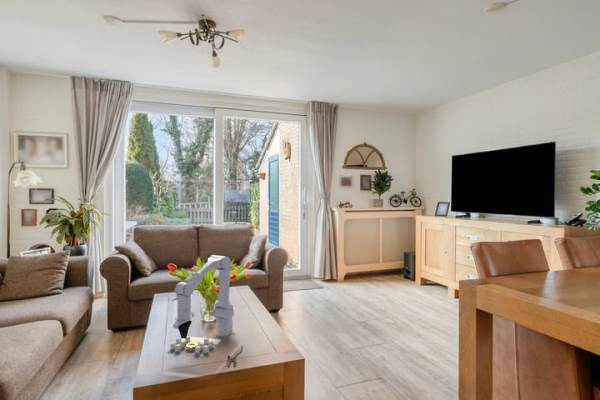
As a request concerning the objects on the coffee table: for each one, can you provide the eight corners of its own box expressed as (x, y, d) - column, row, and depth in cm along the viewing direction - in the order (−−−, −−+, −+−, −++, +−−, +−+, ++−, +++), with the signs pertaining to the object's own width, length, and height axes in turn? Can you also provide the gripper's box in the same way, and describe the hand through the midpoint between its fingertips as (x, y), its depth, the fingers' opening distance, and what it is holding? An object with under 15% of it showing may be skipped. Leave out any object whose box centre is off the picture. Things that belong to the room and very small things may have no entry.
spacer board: (185, 338, 170) (185, 330, 170) (221, 341, 166) (221, 333, 166) (165, 355, 152) (165, 346, 152) (205, 359, 149) (205, 350, 149)
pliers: (241, 343, 164) (249, 363, 145) (241, 345, 164) (249, 365, 145) (222, 346, 160) (227, 367, 142) (222, 348, 160) (227, 369, 142)
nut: (183, 350, 154) (183, 346, 154) (189, 345, 159) (189, 341, 159) (194, 351, 153) (195, 347, 153) (200, 346, 158) (200, 342, 158)
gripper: (184, 302, 156) (184, 330, 157) (167, 313, 142) (166, 344, 142) (197, 303, 155) (197, 331, 155) (181, 314, 141) (181, 345, 141)
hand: (183, 337), depth 149 cm, fingers closed
